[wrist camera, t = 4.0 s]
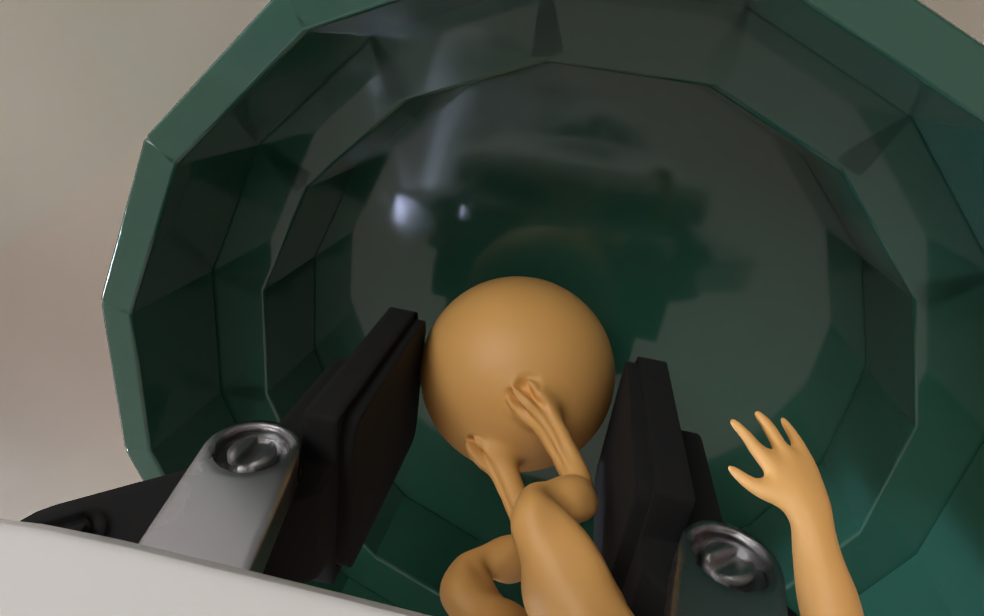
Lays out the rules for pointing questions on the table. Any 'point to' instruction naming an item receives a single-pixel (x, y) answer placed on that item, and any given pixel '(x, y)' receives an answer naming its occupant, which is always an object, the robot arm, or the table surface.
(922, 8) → the bowl
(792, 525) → the figurine
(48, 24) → the table surface
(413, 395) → the robot arm
